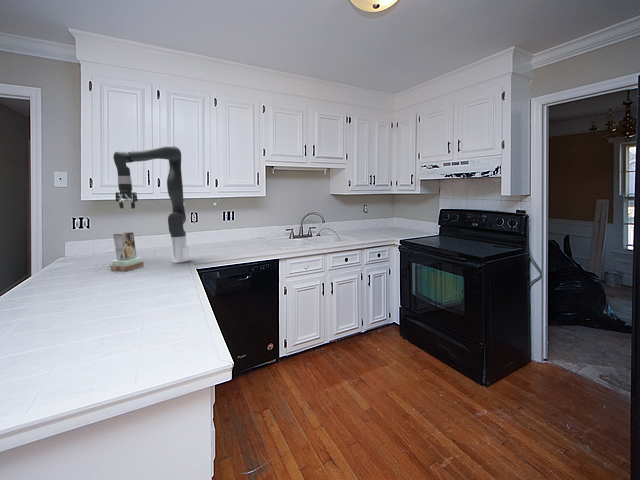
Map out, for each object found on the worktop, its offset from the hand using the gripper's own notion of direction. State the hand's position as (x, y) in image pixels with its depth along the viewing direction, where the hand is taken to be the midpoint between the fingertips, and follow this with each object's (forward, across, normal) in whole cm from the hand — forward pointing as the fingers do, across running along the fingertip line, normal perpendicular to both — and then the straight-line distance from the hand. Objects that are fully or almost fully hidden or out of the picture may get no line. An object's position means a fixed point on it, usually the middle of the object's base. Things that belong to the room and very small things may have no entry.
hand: (127, 208), depth 209 cm
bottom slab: (+37, -10, +15) cm, 41 cm away
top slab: (+33, -10, +15) cm, 37 cm away
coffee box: (+30, -9, +15) cm, 35 cm away
